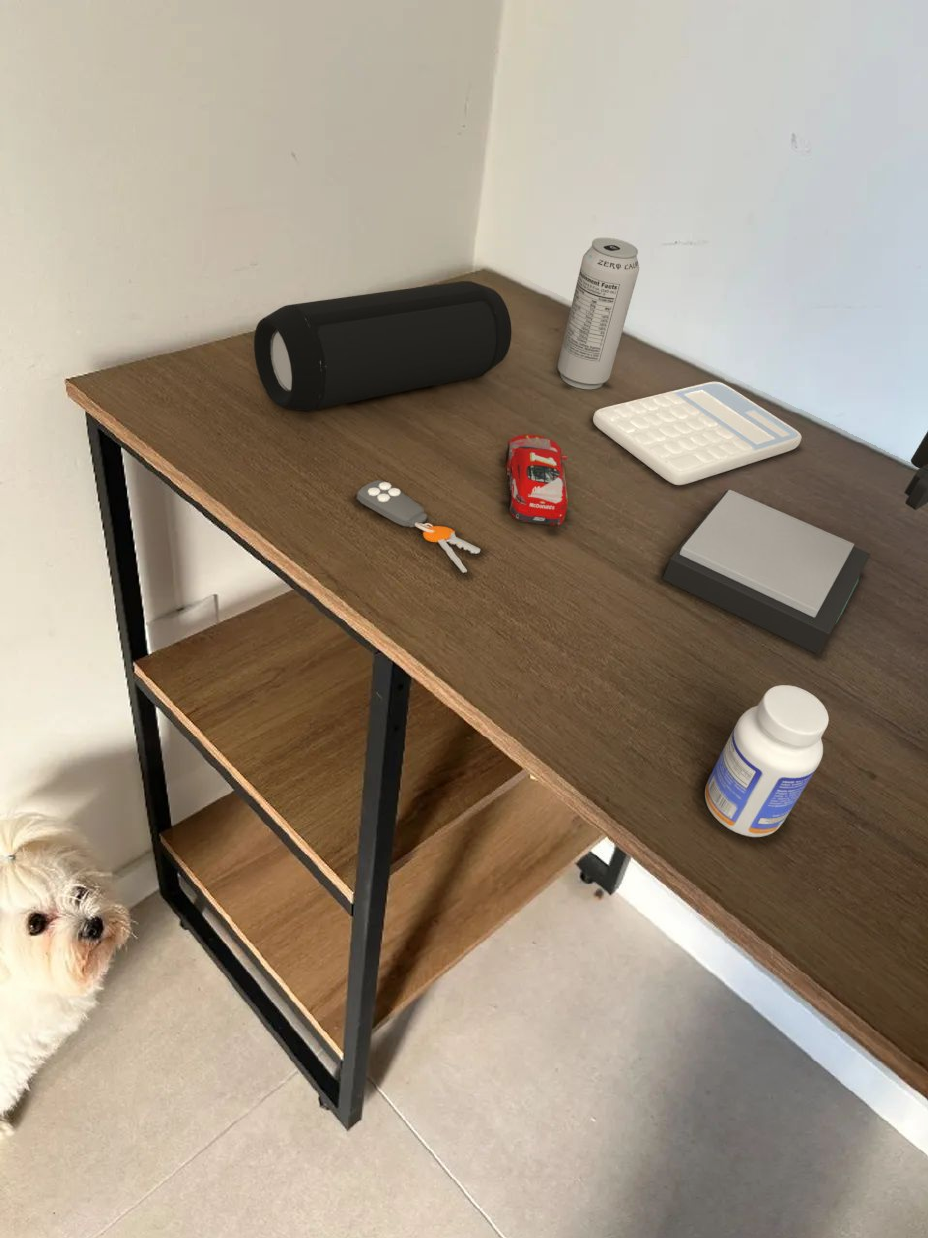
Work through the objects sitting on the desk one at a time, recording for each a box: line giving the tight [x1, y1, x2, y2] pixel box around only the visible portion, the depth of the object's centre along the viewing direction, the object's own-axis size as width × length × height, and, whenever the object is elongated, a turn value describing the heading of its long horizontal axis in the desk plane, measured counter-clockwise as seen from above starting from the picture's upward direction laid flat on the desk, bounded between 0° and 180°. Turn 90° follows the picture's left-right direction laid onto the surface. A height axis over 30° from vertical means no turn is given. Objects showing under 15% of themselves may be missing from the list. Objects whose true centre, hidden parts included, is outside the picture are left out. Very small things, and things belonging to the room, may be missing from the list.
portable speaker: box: [253, 280, 513, 412], centre depth 94 cm, size 26×10×10 cm, turn 126°
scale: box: [662, 489, 871, 656], centre depth 81 cm, size 14×14×3 cm
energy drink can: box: [557, 237, 640, 390], centre depth 101 cm, size 6×6×15 cm
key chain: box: [356, 479, 481, 574], centre depth 79 cm, size 13×4×2 cm, turn 50°
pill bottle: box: [704, 684, 829, 838], centre depth 59 cm, size 5×5×10 cm
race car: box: [505, 434, 569, 527], centre depth 86 cm, size 13×5×4 cm, turn 178°
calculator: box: [592, 381, 803, 486], centre depth 99 cm, size 13×20×2 cm, turn 125°
